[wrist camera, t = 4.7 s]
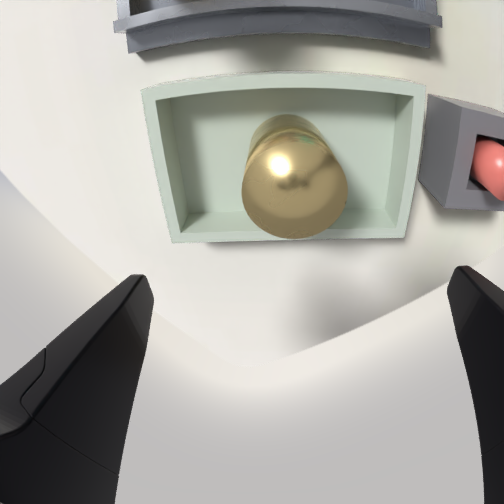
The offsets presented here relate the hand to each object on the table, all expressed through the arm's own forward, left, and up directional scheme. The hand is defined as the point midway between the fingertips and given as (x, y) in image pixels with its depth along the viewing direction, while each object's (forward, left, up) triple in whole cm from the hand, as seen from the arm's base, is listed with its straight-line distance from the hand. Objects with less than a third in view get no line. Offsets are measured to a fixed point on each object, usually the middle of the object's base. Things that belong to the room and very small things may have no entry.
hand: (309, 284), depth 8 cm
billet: (0, 0, -11) cm, 11 cm away
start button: (-12, -1, -9) cm, 15 cm away
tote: (0, 0, -12) cm, 12 cm away
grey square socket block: (-12, -1, -12) cm, 17 cm away
